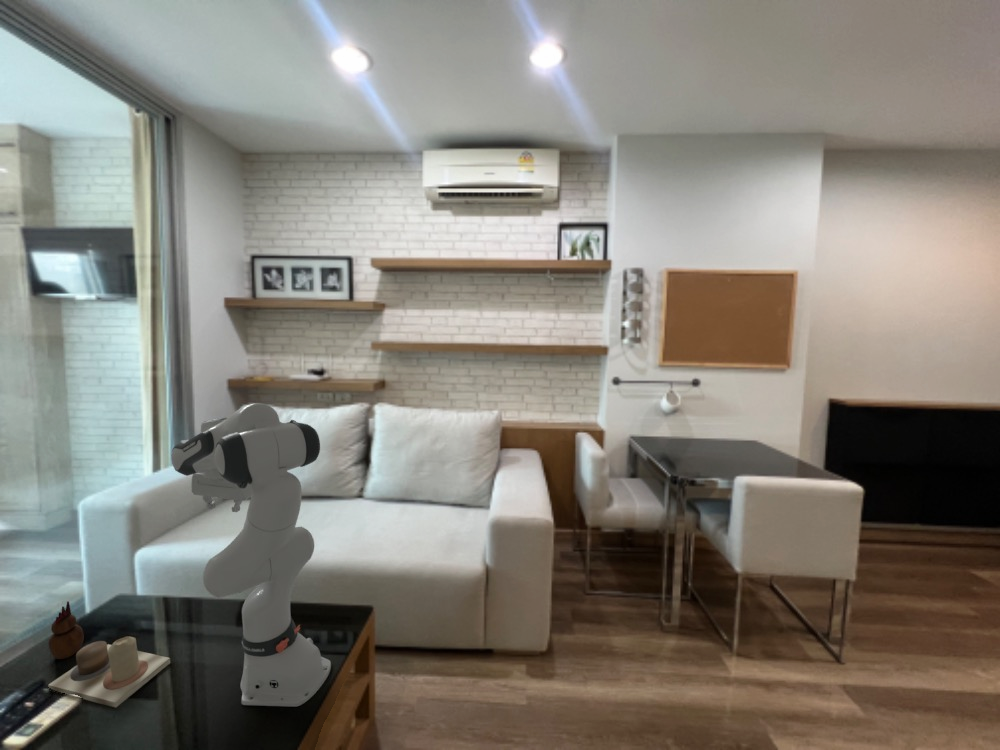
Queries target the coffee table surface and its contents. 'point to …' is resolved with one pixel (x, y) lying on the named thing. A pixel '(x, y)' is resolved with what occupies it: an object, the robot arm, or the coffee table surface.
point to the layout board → (105, 675)
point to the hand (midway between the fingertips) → (223, 509)
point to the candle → (123, 659)
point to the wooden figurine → (65, 635)
